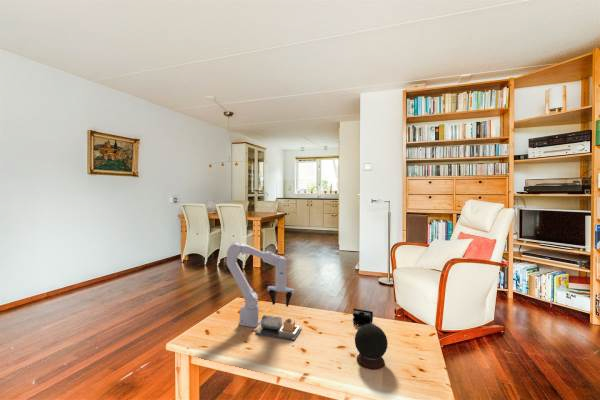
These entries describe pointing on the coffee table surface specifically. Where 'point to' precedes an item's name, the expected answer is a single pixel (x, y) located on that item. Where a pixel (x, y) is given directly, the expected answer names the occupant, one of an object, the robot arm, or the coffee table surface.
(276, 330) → the motor mount
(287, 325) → the cube with grey knob
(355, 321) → the end cap
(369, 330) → the black orb on pedestal
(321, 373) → the coffee table surface
